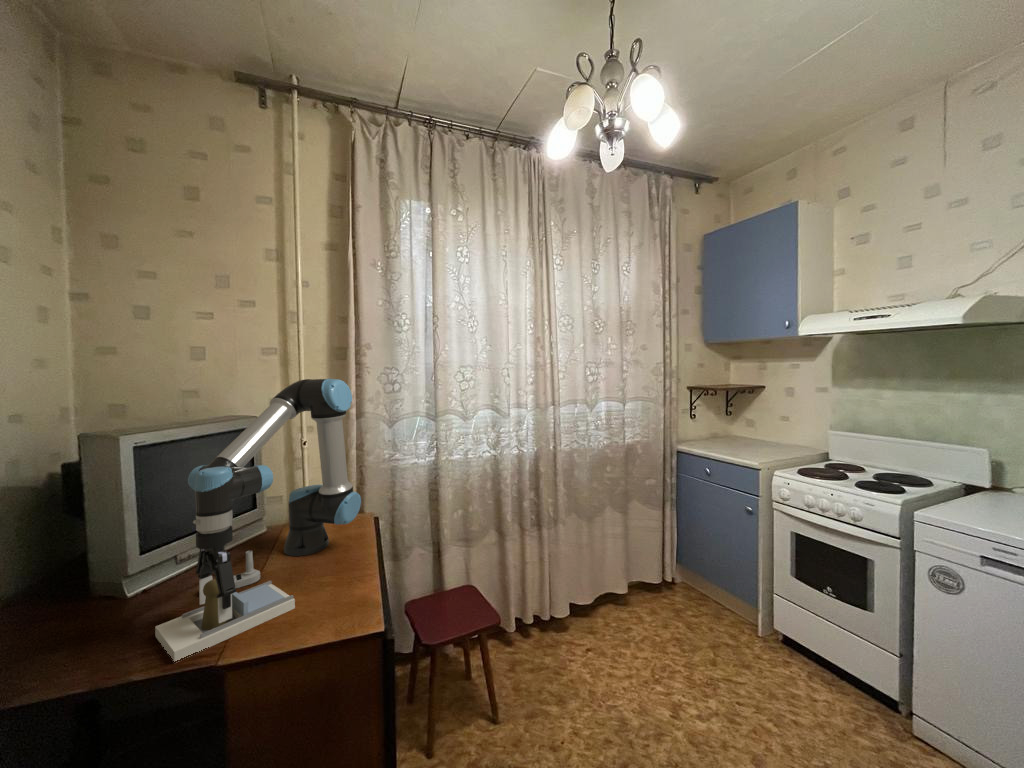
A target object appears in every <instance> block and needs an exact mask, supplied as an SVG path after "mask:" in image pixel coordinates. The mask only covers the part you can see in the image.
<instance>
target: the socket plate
mask: <svg viewBox="0 0 1024 768" xmlns="http://www.w3.org/2000/svg"><path fill="white" fill-rule="evenodd" d="M272 583H273V581H272V580H268V581H266V582H263V583H261V584H257V585H256V586H252V587H250V588H247V589H245V590H242V591H239V592H237V593H238V594H241V593H244V592H246V591H249V590H251V589H254V588H257V587H259V586H262V585H264V584H266V585H268V586H269V587H271V588H272V589H274V590H275V591H277V592H278V593H280V594H281V595H283V596H284V597H285V598H284V599H281V600H279V601H277V602H274V603H272V604H270V605H267V606H265V607H263V608H260V609H258V610H256V611H253V612H251V613H249V614H246V615H244V616H241V615H240V614H239V613H238V612H237V611H236V610H235V609H233V608H232V618H231V619H230V621H229V622H228V623H225V624H223V625H221V626H218V627H216V628H213V629H211V630H203V629H202V628H201V626H202V619H203V613H204V606H205V605H202V606H200V607H198V608H195V609H192V610H190V611H187V612H185V613H182V614H181V616H179V617H176V618H174V619H171V620H169V621H166V622H163V623H161V624H160V623H159V625H158V624H157V625H156V626H155V628H154V630H155V632H154V633H155V638H156V639H157V641H158V642H159V643H161V644H160V646H161V647H162V648H163V647H164V648H163V649H164V651H165V650H166V651H167V652H166V651H165V652H166V653H167V655H168V654H169V655H170V656H171V658H172V659H173V660H172V659H171V658H170V659H171V660H172V662H173V661H174V662H175V661H177V660H180V659H181V658H184V657H186V656H188V655H191V654H193V653H195V652H198V653H200V652H202V651H204V650H203V649H205V648H207V649H209V648H211V647H213V646H215V645H217V644H220V643H221V642H224V641H227V640H229V639H231V638H233V637H235V636H237V635H240V634H242V633H244V632H245V631H248V630H251V629H252V628H255V627H257V626H259V625H261V624H263V623H265V622H268V621H270V620H273V619H274V618H276V617H279V616H281V615H284V614H285V613H287V612H289V611H292V610H294V609H295V608H296V605H295V604H296V599H295V598H294V595H293V594H291V595H289V594H288V593H286V592H285V591H283V590H282V589H281V588H279V587H277V586H276V585H274V584H272ZM208 647H209V648H208ZM201 650H202V651H201ZM205 650H206V649H205ZM199 651H200V652H199ZM169 655H168V656H169ZM170 656H169V657H170ZM191 656H192V655H191ZM174 662H173V663H174Z"/></svg>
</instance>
